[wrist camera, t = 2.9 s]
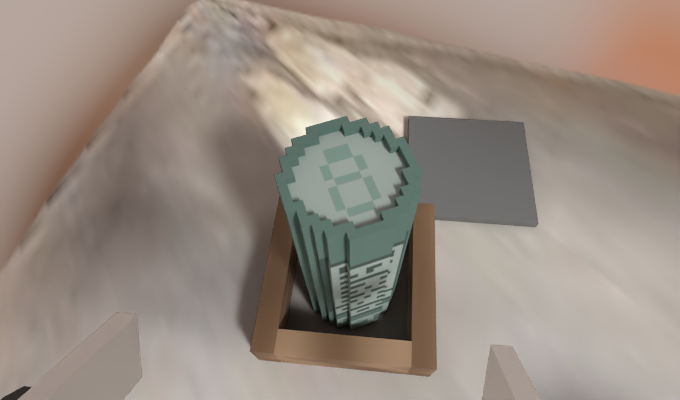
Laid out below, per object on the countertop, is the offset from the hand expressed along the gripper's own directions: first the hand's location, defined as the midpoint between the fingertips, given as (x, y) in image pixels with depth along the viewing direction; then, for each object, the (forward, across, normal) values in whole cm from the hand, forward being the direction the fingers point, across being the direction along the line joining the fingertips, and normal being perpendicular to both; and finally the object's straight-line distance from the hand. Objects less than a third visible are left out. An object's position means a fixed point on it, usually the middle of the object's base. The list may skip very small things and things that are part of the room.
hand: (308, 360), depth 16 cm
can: (+15, +1, -4) cm, 16 cm away
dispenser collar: (+15, +1, -4) cm, 16 cm away
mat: (+23, +10, +4) cm, 25 cm away
